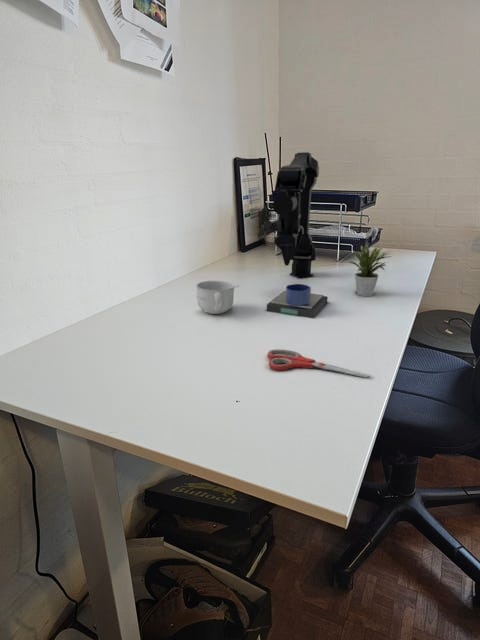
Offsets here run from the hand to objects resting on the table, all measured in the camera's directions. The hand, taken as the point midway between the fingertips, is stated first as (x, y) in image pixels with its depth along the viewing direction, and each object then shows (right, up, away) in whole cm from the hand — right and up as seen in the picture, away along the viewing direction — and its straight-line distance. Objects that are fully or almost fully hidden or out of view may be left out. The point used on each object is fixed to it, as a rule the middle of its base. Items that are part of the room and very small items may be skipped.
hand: (289, 261), depth 127 cm
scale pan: (+2, -13, -9) cm, 16 cm away
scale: (+1, -15, -8) cm, 17 cm away
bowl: (+1, -14, -13) cm, 19 cm away
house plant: (+24, -11, +1) cm, 27 cm away
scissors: (0, -28, -43) cm, 51 cm away
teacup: (-23, -17, -12) cm, 30 cm away
